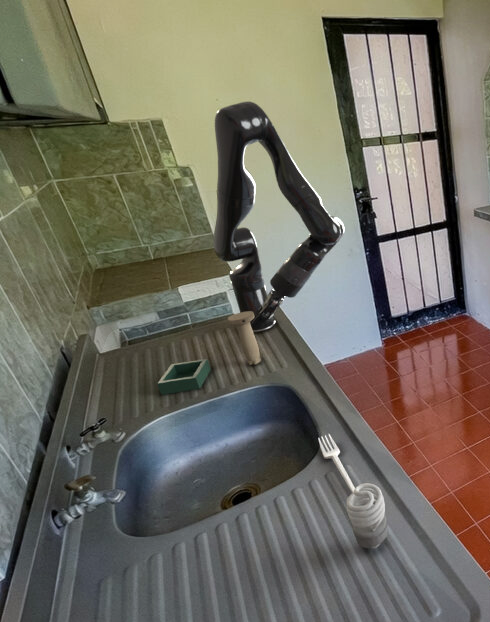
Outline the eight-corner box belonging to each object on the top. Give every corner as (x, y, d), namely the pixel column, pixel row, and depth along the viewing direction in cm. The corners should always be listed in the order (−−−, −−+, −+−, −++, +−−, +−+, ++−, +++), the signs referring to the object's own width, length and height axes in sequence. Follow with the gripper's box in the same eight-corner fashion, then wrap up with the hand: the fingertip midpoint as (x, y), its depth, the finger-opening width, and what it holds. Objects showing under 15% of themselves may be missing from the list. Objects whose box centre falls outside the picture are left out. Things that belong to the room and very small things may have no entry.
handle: (268, 362, 131) (255, 315, 124) (244, 370, 127) (229, 322, 121) (264, 355, 134) (251, 309, 128) (240, 363, 131) (226, 316, 124)
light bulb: (398, 545, 75) (388, 491, 70) (368, 567, 71) (355, 512, 66) (379, 524, 79) (369, 472, 73) (350, 545, 75) (337, 492, 70)
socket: (175, 374, 126) (171, 364, 125) (211, 369, 128) (207, 358, 127) (161, 394, 117) (156, 383, 116) (199, 388, 119) (195, 377, 118)
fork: (350, 504, 83) (348, 497, 82) (317, 445, 98) (315, 438, 97) (367, 496, 84) (365, 488, 84) (332, 439, 99) (331, 432, 98)
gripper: (283, 260, 128) (250, 303, 131) (275, 277, 116) (238, 324, 118) (307, 275, 132) (274, 317, 134) (301, 293, 119) (265, 338, 121)
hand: (257, 320), depth 126 cm, fingers open, 8 cm apart
